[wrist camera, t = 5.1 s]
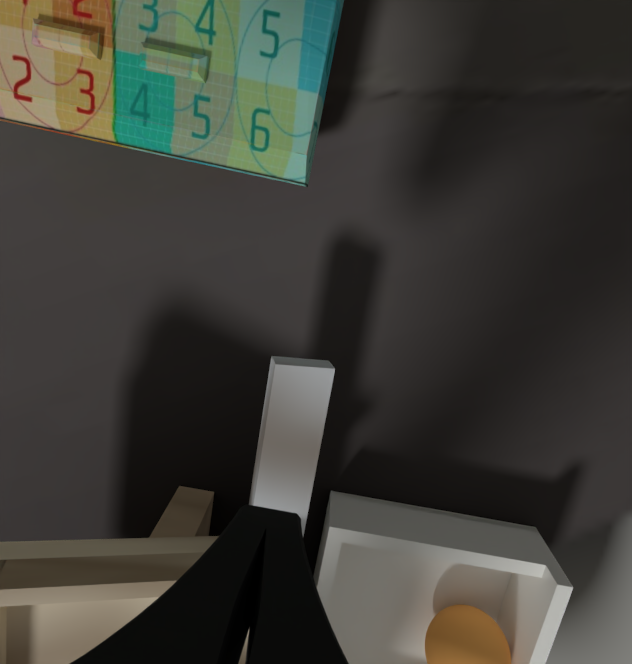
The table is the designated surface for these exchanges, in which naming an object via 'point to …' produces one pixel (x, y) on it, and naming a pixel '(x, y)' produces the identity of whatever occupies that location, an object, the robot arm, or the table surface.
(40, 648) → the tipping tray
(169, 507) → the tan flat block
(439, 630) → the ball
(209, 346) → the table surface
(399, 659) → the bin
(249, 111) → the puzzle game
